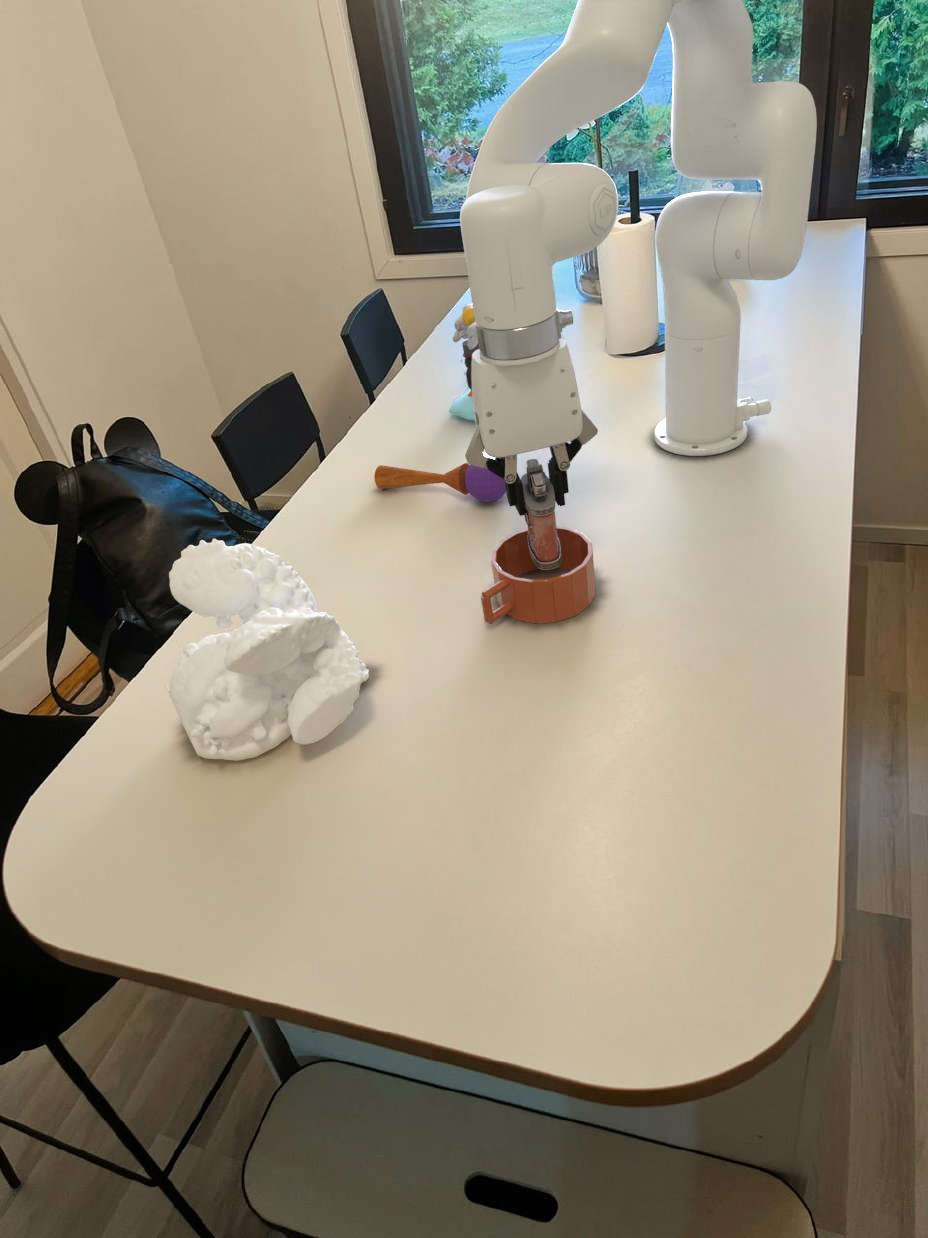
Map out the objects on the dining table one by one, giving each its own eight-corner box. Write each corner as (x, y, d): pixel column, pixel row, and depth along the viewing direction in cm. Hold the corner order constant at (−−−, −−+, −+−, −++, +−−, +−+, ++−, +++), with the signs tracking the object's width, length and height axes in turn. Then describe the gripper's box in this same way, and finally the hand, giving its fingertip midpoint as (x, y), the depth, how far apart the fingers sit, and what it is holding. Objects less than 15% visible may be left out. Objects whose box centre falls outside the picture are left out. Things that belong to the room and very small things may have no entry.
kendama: (388, 450, 125) (514, 451, 115) (395, 490, 127) (519, 494, 118) (365, 462, 120) (495, 464, 111) (373, 504, 123) (500, 509, 113)
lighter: (524, 532, 99) (513, 453, 93) (553, 527, 99) (544, 447, 92) (534, 572, 92) (523, 490, 86) (566, 566, 92) (557, 484, 86)
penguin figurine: (500, 427, 134) (487, 330, 125) (438, 424, 139) (421, 330, 130) (543, 375, 148) (534, 284, 139) (486, 374, 153) (474, 286, 144)
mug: (546, 555, 104) (541, 515, 101) (615, 587, 97) (613, 546, 94) (455, 613, 98) (447, 572, 95) (522, 652, 91) (516, 610, 87)
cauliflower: (86, 663, 85) (216, 506, 84) (237, 731, 99) (348, 597, 99) (141, 782, 72) (294, 598, 71) (305, 840, 86) (434, 688, 86)
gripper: (591, 303, 84) (603, 470, 95) (425, 341, 83) (456, 505, 94) (617, 327, 78) (626, 503, 89) (437, 368, 77) (469, 541, 89)
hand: (538, 502), depth 92 cm, fingers closed on lighter, 3 cm apart
